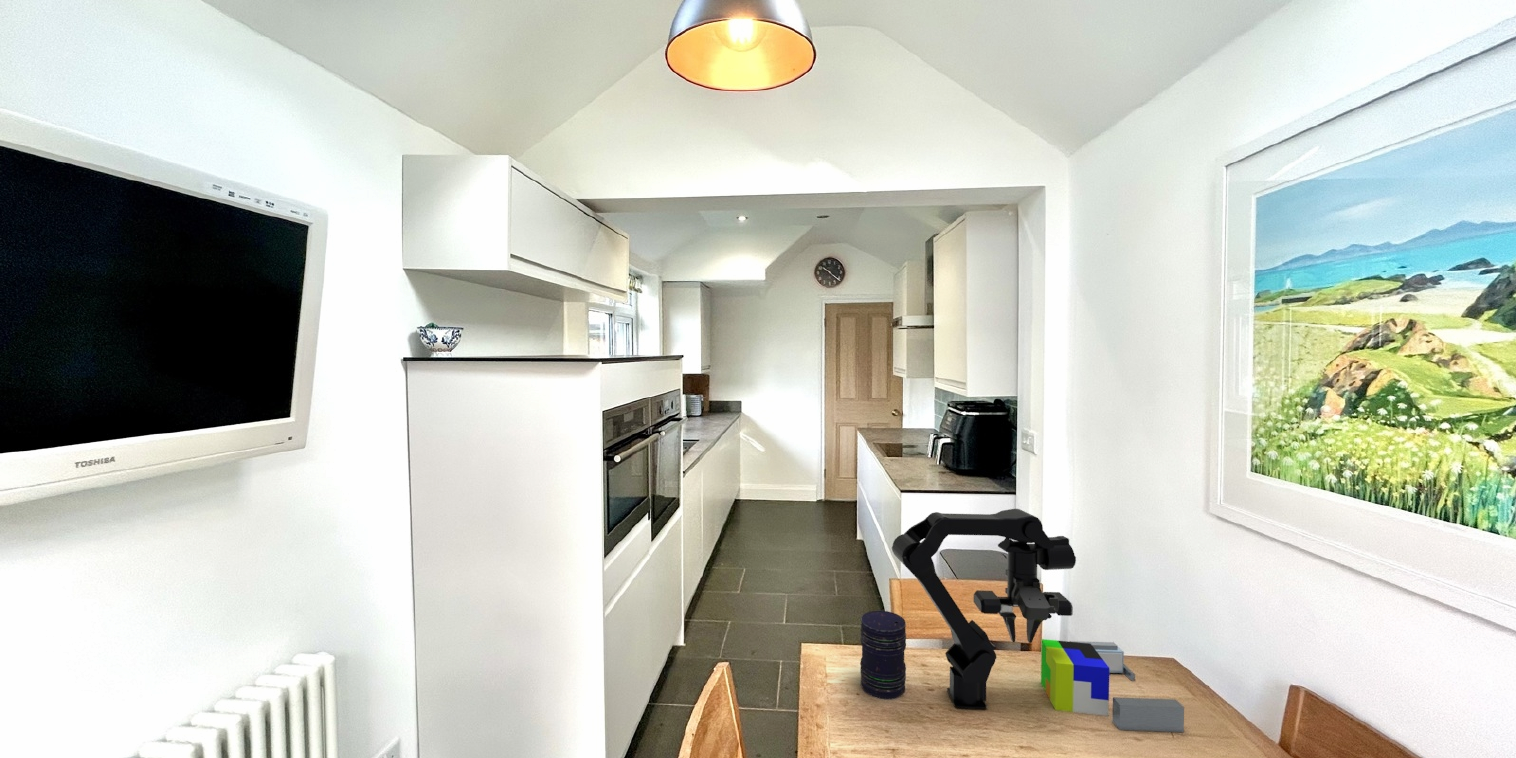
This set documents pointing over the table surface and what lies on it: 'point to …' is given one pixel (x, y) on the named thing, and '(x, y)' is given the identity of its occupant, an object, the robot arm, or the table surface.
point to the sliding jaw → (1109, 655)
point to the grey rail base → (1147, 712)
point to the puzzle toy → (1075, 677)
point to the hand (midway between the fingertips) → (1021, 641)
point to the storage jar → (883, 654)
